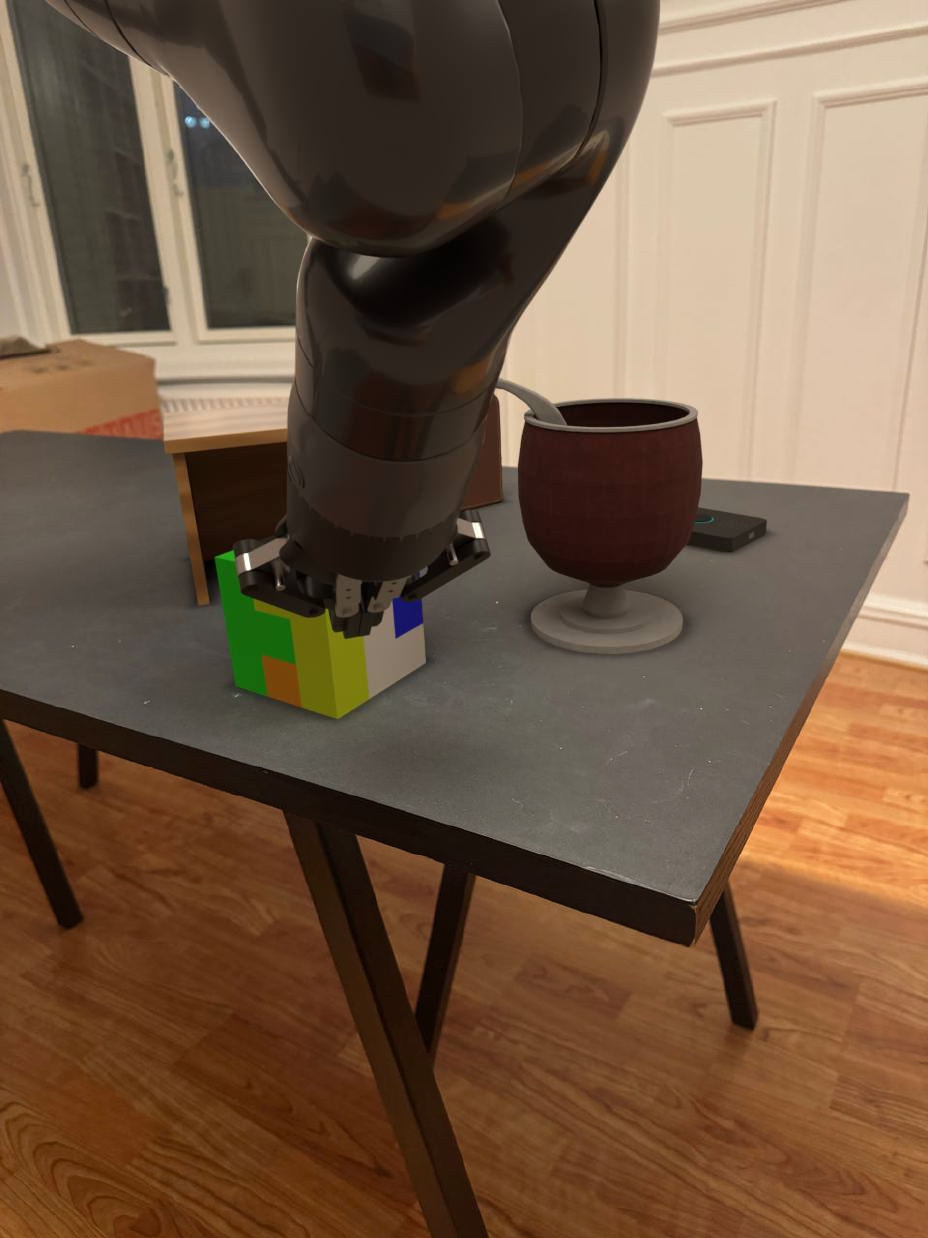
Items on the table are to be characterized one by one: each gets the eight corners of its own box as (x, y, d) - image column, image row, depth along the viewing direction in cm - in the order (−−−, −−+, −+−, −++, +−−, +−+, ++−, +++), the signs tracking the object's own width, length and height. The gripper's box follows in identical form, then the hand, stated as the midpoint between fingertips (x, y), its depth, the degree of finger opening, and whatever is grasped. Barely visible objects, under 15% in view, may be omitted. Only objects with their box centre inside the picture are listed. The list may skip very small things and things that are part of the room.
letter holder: (504, 502, 108) (501, 384, 103) (364, 537, 98) (352, 407, 92) (457, 488, 116) (451, 377, 110) (321, 518, 105) (308, 397, 100)
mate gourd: (672, 589, 79) (683, 356, 71) (712, 655, 66) (731, 380, 59) (498, 596, 79) (491, 365, 72) (505, 663, 67) (497, 391, 59)
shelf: (397, 578, 85) (384, 418, 79) (193, 608, 80) (163, 440, 74) (365, 535, 98) (352, 395, 92) (188, 559, 93) (162, 413, 87)
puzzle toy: (426, 663, 67) (417, 536, 63) (337, 719, 60) (321, 580, 56) (328, 637, 73) (314, 519, 69) (235, 686, 65) (214, 557, 61)
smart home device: (731, 537, 86) (566, 506, 99) (730, 554, 87) (566, 520, 100) (770, 517, 92) (608, 490, 105) (768, 533, 92) (608, 504, 105)
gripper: (512, 363, 39) (447, 549, 54) (199, 390, 35) (225, 581, 51) (561, 511, 36) (477, 663, 52) (228, 556, 33) (246, 704, 48)
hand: (352, 622), depth 51 cm, fingers closed
